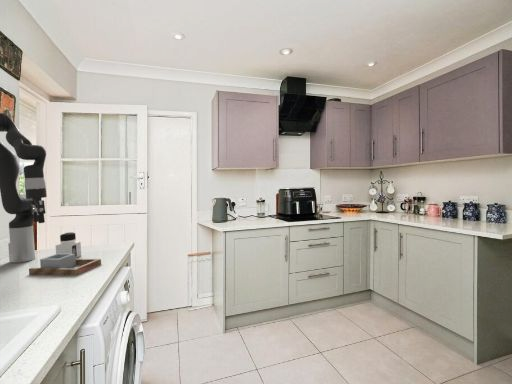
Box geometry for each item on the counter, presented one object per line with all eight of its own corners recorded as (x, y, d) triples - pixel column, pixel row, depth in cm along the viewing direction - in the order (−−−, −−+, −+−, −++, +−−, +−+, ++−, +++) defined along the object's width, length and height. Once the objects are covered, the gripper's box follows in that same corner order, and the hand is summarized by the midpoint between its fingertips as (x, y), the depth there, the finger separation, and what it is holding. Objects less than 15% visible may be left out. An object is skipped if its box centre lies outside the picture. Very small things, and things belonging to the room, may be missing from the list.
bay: (29, 274, 114) (28, 268, 114) (58, 263, 129) (58, 258, 129) (76, 275, 111) (76, 269, 111) (101, 264, 126) (100, 258, 126)
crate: (40, 272, 116) (40, 259, 116) (58, 266, 125) (57, 253, 125) (59, 273, 115) (58, 259, 115) (75, 266, 124) (75, 253, 124)
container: (81, 255, 142) (80, 231, 141) (70, 260, 134) (68, 234, 134) (68, 255, 143) (66, 231, 142) (55, 260, 135) (54, 234, 134)
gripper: (21, 188, 126) (25, 222, 127) (28, 188, 117) (32, 224, 118) (41, 187, 131) (45, 220, 132) (49, 187, 122) (53, 221, 123)
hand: (39, 222), depth 125 cm, fingers open, 8 cm apart
